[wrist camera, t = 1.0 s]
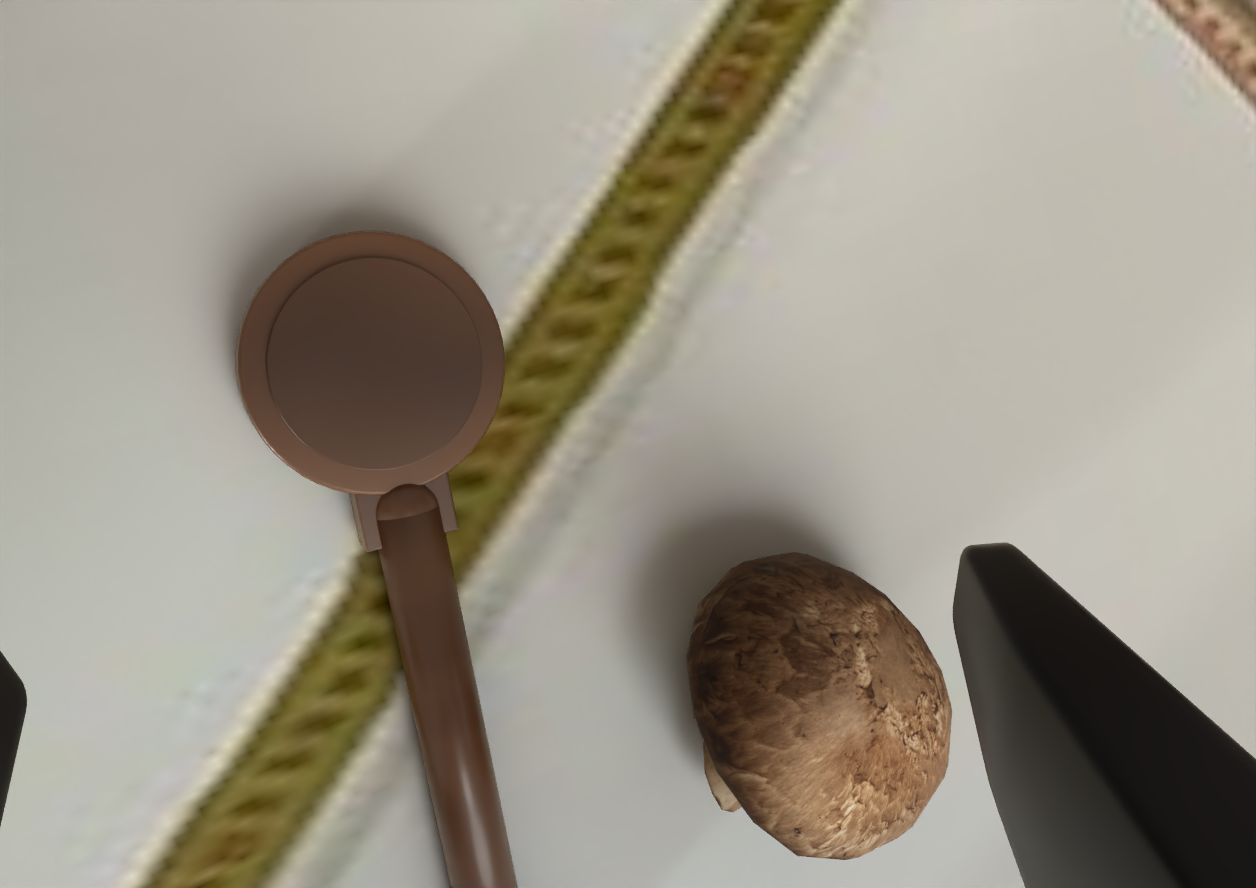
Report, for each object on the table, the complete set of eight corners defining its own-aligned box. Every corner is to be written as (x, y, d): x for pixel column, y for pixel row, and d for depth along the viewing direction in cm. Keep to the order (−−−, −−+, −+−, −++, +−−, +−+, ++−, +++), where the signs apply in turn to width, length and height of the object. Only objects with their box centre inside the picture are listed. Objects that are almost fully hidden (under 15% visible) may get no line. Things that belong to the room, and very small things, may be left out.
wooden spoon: (616, 999, 30) (638, 1033, 28) (401, 1091, 28) (412, 1133, 26) (467, 218, 26) (483, 210, 25) (207, 256, 24) (208, 251, 23)
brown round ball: (720, 958, 27) (911, 916, 23) (554, 678, 28) (709, 590, 24) (867, 791, 33) (1041, 734, 29) (726, 565, 34) (875, 478, 30)
